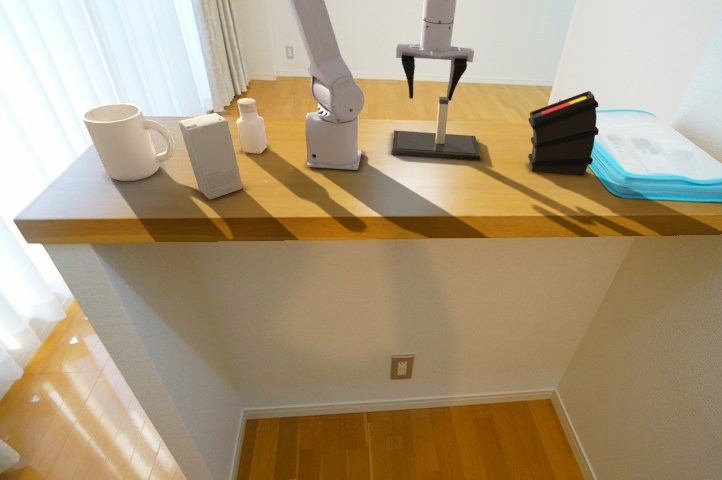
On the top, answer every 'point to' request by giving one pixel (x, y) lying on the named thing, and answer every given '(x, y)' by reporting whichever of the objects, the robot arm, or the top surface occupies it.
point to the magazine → (564, 135)
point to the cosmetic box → (211, 154)
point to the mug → (126, 141)
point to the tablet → (435, 145)
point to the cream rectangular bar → (442, 120)
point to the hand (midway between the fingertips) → (429, 97)
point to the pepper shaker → (251, 127)
